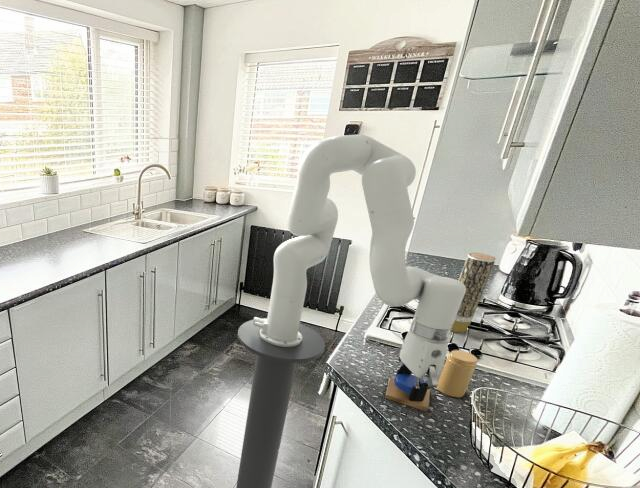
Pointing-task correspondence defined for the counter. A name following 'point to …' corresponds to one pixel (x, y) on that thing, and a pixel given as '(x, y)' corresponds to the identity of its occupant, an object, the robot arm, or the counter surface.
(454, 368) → the jar
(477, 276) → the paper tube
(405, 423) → the counter surface
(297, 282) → the robot arm
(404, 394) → the block
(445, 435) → the counter surface
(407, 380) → the jar lid
